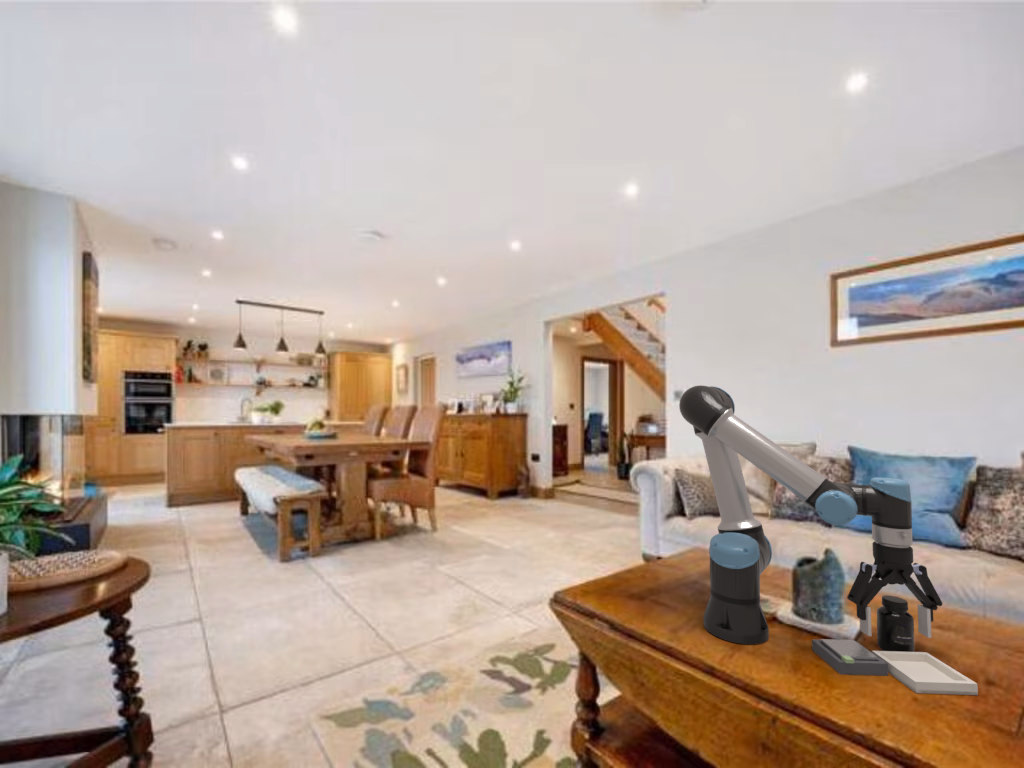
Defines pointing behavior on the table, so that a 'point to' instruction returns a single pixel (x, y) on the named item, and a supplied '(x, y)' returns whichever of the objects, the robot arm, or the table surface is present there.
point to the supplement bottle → (895, 625)
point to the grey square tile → (848, 649)
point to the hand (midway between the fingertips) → (895, 634)
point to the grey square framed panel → (850, 662)
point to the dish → (926, 673)
